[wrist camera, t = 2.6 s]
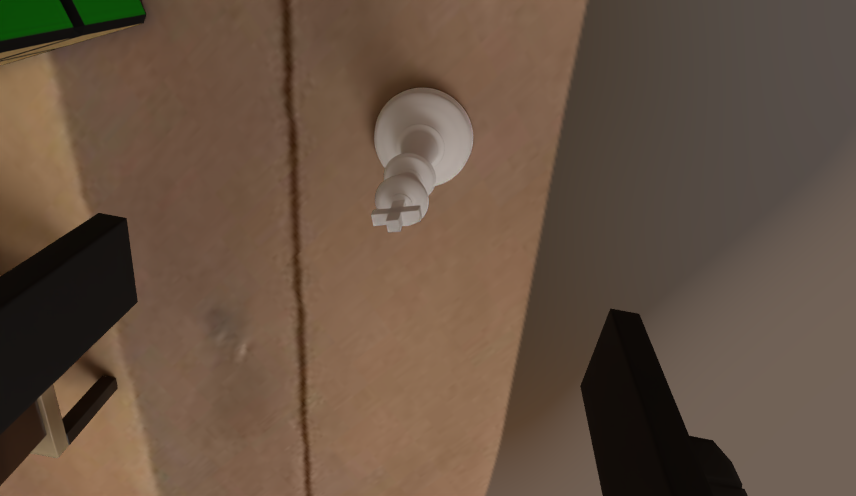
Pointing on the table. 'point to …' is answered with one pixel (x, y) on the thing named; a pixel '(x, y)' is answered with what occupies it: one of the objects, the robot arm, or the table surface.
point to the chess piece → (417, 152)
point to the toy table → (70, 416)
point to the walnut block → (20, 440)
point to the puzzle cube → (60, 23)
